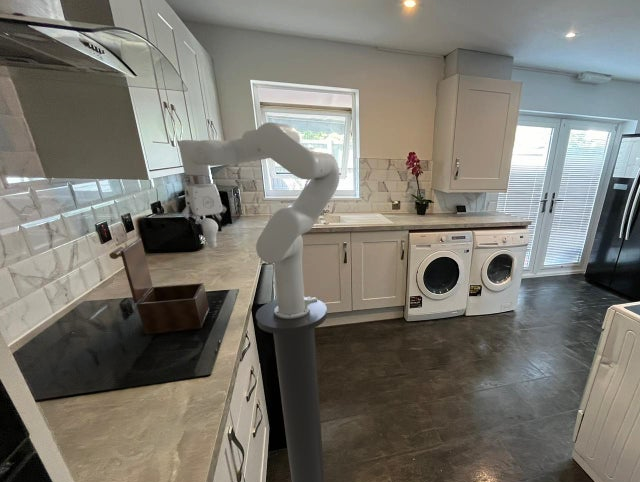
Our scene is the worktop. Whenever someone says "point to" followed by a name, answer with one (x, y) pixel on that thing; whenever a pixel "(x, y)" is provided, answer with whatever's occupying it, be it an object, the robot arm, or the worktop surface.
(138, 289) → the lid
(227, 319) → the worktop surface
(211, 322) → the worktop surface
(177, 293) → the chest
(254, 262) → the worktop surface
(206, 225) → the lightbulb
